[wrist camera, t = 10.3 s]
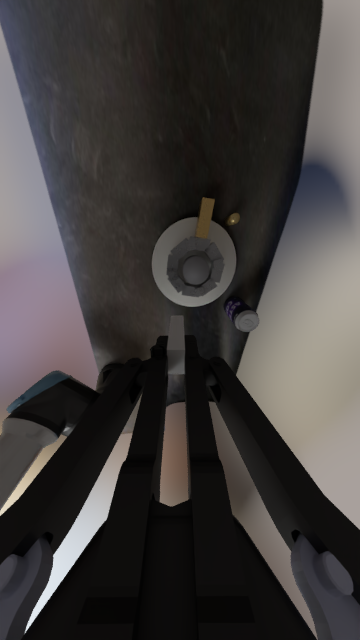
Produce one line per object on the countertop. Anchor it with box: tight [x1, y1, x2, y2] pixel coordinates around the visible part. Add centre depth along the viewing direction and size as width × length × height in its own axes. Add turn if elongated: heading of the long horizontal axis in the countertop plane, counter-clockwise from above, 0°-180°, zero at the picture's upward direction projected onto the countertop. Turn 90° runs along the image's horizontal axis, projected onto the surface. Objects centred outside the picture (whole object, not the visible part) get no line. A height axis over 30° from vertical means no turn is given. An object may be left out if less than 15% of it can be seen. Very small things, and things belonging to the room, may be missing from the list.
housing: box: [152, 217, 236, 307], centre depth 37 cm, size 22×22×8 cm
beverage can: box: [224, 297, 259, 332], centre depth 40 cm, size 6×6×12 cm
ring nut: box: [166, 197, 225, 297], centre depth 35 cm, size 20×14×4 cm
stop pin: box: [224, 213, 240, 227], centre depth 34 cm, size 2×2×5 cm
